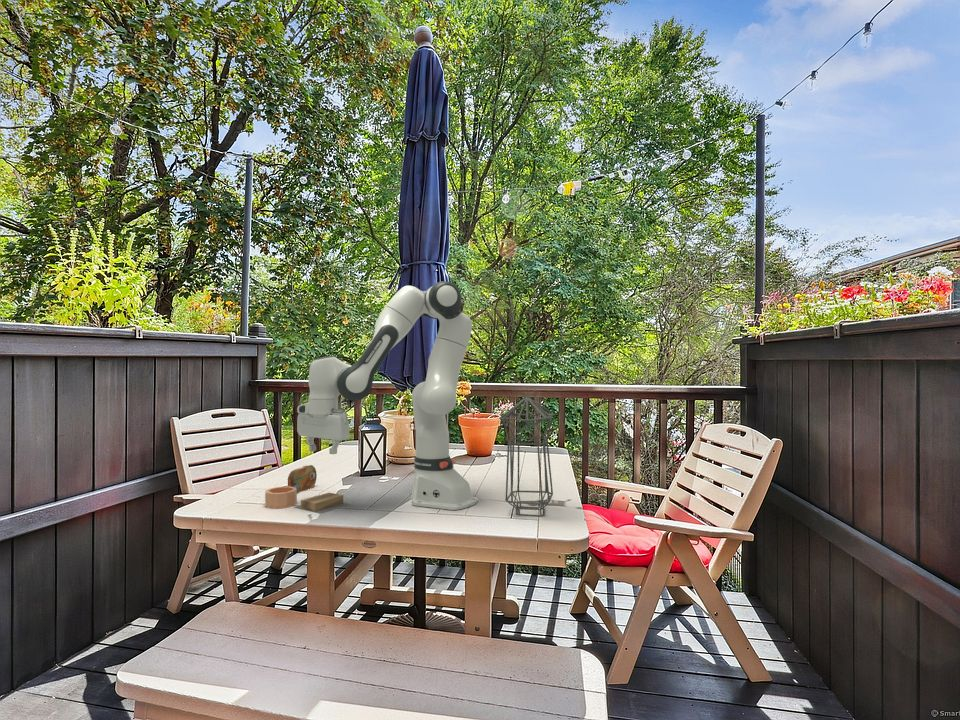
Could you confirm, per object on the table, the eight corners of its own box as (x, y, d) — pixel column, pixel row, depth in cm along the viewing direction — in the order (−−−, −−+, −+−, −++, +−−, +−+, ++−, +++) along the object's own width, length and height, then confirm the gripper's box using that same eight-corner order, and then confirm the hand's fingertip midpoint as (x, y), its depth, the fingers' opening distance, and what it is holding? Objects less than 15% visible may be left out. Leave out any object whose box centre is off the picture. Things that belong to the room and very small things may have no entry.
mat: (350, 505, 156) (350, 504, 156) (320, 515, 146) (320, 513, 146) (324, 500, 163) (324, 498, 163) (293, 509, 153) (293, 507, 153)
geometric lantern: (553, 522, 142) (551, 399, 142) (499, 519, 145) (496, 399, 145) (557, 506, 157) (555, 395, 157) (508, 503, 160) (506, 395, 160)
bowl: (302, 504, 157) (302, 488, 157) (277, 511, 150) (277, 495, 150) (284, 500, 162) (284, 485, 162) (259, 507, 154) (259, 491, 154)
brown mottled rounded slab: (294, 496, 167) (294, 471, 167) (285, 496, 168) (285, 471, 168) (317, 486, 182) (317, 463, 182) (309, 485, 182) (309, 462, 182)
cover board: (343, 503, 158) (343, 495, 158) (315, 511, 148) (315, 503, 148) (328, 500, 161) (329, 492, 161) (300, 508, 152) (300, 500, 152)
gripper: (354, 409, 152) (354, 454, 152) (309, 405, 163) (309, 448, 163) (338, 410, 147) (338, 457, 147) (293, 407, 158) (293, 450, 157)
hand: (322, 452), depth 155 cm, fingers open, 8 cm apart
